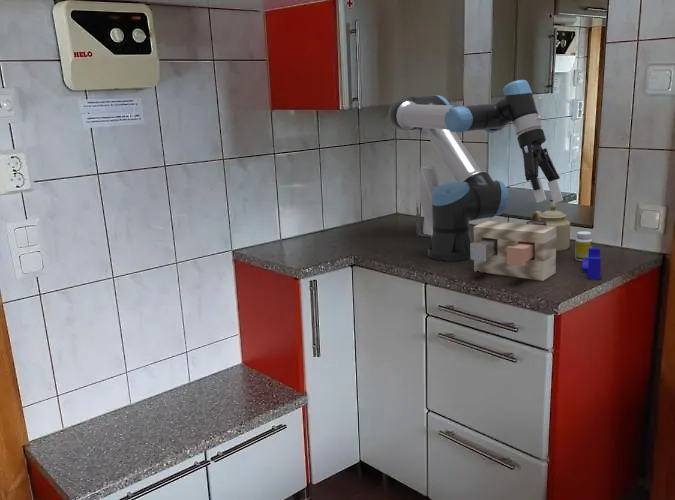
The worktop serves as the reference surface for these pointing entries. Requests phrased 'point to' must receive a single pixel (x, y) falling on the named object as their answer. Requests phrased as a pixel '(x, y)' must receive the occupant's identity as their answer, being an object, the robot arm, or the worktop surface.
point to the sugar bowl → (556, 220)
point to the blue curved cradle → (592, 264)
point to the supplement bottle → (582, 245)
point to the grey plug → (483, 249)
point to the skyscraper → (426, 196)
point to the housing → (513, 236)
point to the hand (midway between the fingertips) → (550, 201)
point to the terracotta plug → (520, 253)
